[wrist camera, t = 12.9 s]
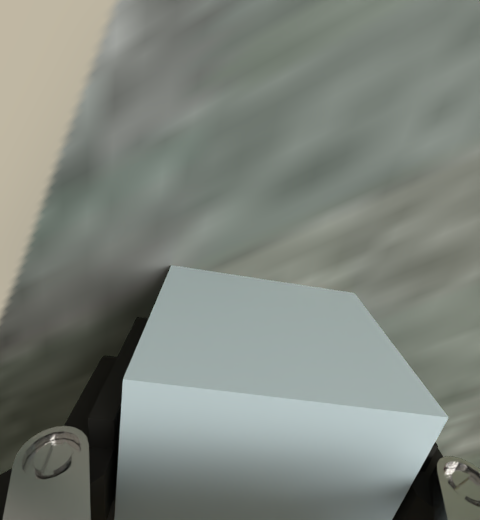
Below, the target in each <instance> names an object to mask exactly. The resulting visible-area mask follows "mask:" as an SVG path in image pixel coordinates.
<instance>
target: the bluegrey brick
mask: <svg viewBox="0 0 480 520" xmlns="http://www.w3.org/2000/svg"><path fill="white" fill-rule="evenodd" d="M448 418H449V417H448V416H447V415H446V413H445V412H444V411H443V409H442V408H441V407H440V405H439V404H438V403H437V402H436V400H435V399H434V398H433V396H432V395H431V394H430V392H429V391H428V390H427V388H426V387H425V386H424V384H423V383H422V382H421V380H420V379H419V378H418V376H417V375H416V374H415V372H414V371H413V370H412V369H411V367H410V366H409V365H408V363H407V362H406V361H405V359H404V358H403V357H402V355H401V354H400V353H399V351H398V350H397V349H396V347H395V346H394V345H393V343H392V342H391V341H390V339H389V338H388V337H387V336H386V334H385V333H384V332H383V330H382V329H381V328H380V326H379V325H378V324H377V322H376V321H375V320H374V318H373V317H372V316H371V314H370V313H369V312H368V310H367V309H366V308H365V306H364V305H363V304H362V303H361V301H360V300H359V299H358V297H357V296H356V295H355V293H351V292H344V291H337V290H331V289H324V288H318V287H311V286H305V285H298V284H291V283H285V282H278V281H272V280H265V279H258V278H252V277H245V276H239V275H232V274H225V273H219V272H212V271H206V270H199V269H193V268H186V267H179V266H173V265H171V267H170V269H169V272H168V274H167V277H166V279H165V281H164V284H163V286H162V288H161V291H160V293H159V295H158V298H157V300H156V302H155V305H154V307H153V310H152V312H151V314H150V317H149V319H148V321H147V324H146V326H145V328H144V331H143V333H142V335H141V338H140V340H139V343H138V345H137V347H136V350H135V352H134V354H133V357H132V359H131V361H130V364H129V366H128V368H127V371H126V373H125V375H124V378H123V386H122V402H121V419H120V435H119V452H118V468H117V485H116V501H115V518H114V520H392V519H393V517H394V515H395V514H396V512H397V510H398V508H399V506H400V505H401V503H402V501H403V499H404V497H405V495H406V494H407V492H408V490H409V488H410V486H411V485H412V483H413V481H414V479H415V477H416V476H417V474H418V472H419V470H420V468H421V467H422V465H423V463H424V461H425V459H426V458H427V456H428V454H429V452H430V450H431V449H432V447H433V445H434V443H435V441H436V439H437V438H438V436H439V434H440V432H441V430H442V429H443V427H444V425H445V423H446V421H447V420H448Z"/></svg>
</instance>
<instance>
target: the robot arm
mask: <svg viewBox="0 0 480 520" xmlns="http://www.w3.org/2000/svg"><path fill="white" fill-rule="evenodd" d="M148 319H149V318H140V317H137V319H136V320H135V323H134V325H133V327H132V329H131V331H130V333H129V335H128V337H127V339H126V341H125V343H124V345H123V347H122V349H121V351H120V353H119V355H118V357H113V356H104V357H102V359H101V360H100V362H99V364H98V366H97V367H96V369H95V371H94V373H93V375H92V376H91V378H90V380H89V382H88V384H87V385H86V387H85V389H84V391H83V393H82V395H81V396H80V398H79V400H78V402H77V404H76V405H75V407H74V409H73V411H72V413H71V414H70V416H69V418H68V420H67V422H66V423H65V425H64V426H59V427H53V428H50V429H47V430H44V431H42V432H40V433H38V434H37V435H35V436H33V437H32V438H31V439H29V440H28V441H27V442H26V443H25V444H24V445H23V446H22V447H21V449H20V450H19V451H18V453H17V455H16V457H15V460H14V462H13V467H12V469H10V470H8V471H7V472H5V473H3V474H1V475H0V520H114V517H115V501H116V485H117V468H118V452H119V435H120V419H121V402H122V386H123V378H124V375H125V373H126V371H127V368H128V366H129V364H130V361H131V359H132V357H133V354H134V352H135V350H136V347H137V345H138V343H139V340H140V338H141V335H142V333H143V331H144V328H145V326H146V324H147V321H148ZM392 520H480V469H479V468H478V467H476V466H475V465H473V464H472V463H470V462H468V461H466V460H464V459H462V458H458V457H454V456H445V457H443V456H442V454H441V453H440V451H439V450H438V446H437V444H436V442H435V443H434V445H433V447H432V449H431V450H430V452H429V454H428V456H427V458H426V459H425V461H424V463H423V465H422V467H421V468H420V470H419V472H418V474H417V476H416V477H415V479H414V481H413V483H412V485H411V486H410V488H409V490H408V492H407V494H406V495H405V497H404V499H403V501H402V503H401V505H400V506H399V508H398V510H397V512H396V514H395V515H394V517H393V519H392Z"/></svg>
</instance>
